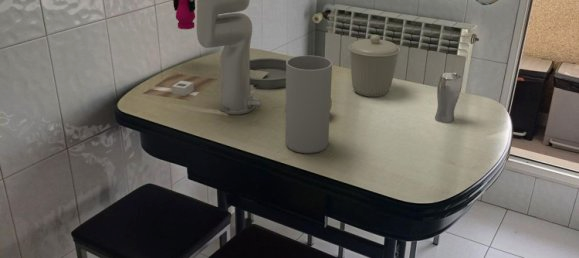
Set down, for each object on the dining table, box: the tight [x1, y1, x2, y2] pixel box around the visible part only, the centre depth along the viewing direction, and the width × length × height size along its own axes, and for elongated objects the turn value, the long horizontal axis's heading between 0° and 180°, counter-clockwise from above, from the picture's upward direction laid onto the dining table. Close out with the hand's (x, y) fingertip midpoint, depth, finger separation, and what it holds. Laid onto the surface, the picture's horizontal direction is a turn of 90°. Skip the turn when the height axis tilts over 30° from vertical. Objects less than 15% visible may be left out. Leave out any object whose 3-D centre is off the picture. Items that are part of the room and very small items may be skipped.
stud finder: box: [172, 81, 194, 96], centre depth 188 cm, size 5×6×3 cm
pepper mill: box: [175, 0, 196, 30], centre depth 201 cm, size 7×7×20 cm
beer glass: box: [434, 71, 463, 124], centre depth 171 cm, size 7×7×15 cm
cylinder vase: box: [284, 55, 333, 154], centre depth 152 cm, size 12×12×25 cm
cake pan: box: [250, 57, 288, 89], centre depth 206 cm, size 25×25×4 cm
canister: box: [348, 34, 401, 97], centre depth 191 cm, size 18×18×21 cm
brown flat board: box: [142, 73, 218, 101], centre depth 194 cm, size 18×22×2 cm
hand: (184, 10), depth 202 cm, fingers closed on pepper mill, 5 cm apart
